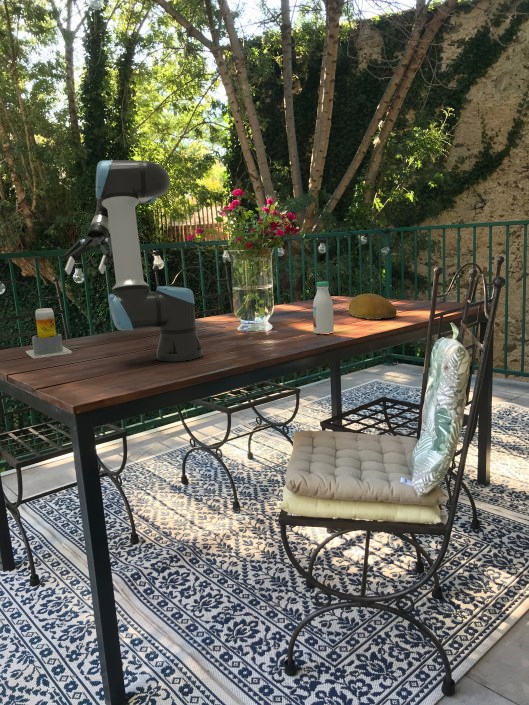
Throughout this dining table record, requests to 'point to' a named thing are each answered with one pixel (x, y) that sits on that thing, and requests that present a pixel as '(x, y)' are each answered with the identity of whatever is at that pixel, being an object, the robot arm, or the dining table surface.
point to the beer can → (45, 323)
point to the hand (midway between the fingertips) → (84, 271)
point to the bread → (371, 307)
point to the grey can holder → (47, 347)
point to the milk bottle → (322, 309)
